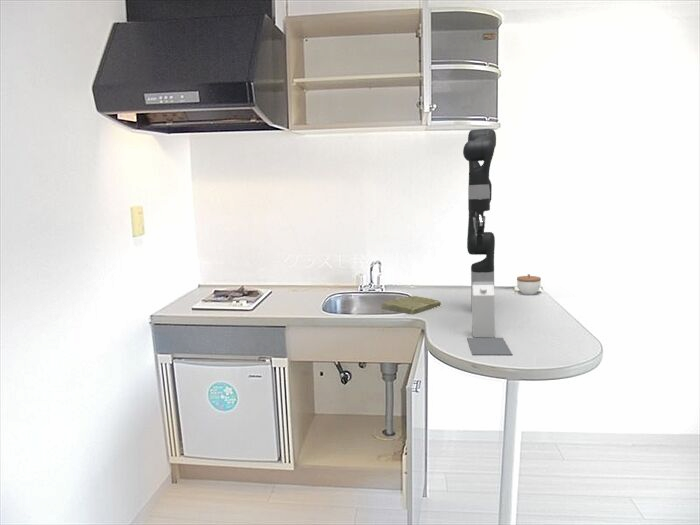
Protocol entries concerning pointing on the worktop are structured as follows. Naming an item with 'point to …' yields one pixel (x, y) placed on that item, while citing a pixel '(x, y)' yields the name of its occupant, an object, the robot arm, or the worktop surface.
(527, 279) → the lidded jar
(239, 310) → the worktop surface
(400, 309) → the olive green towel
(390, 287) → the worktop surface
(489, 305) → the milk carton
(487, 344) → the mat
